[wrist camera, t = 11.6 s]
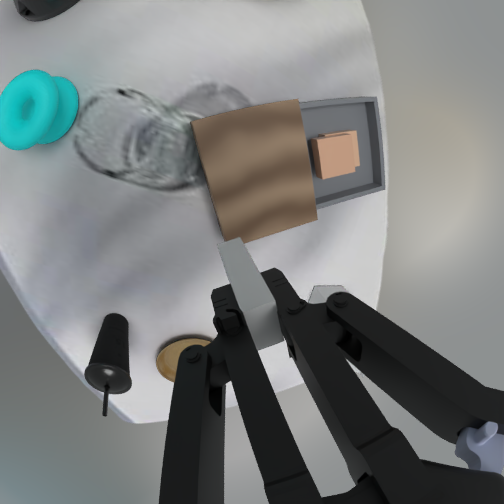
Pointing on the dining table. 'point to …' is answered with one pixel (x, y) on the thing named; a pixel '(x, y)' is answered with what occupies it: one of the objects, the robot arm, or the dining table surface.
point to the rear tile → (354, 141)
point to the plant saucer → (174, 356)
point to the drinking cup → (110, 359)
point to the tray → (369, 145)
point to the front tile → (333, 155)
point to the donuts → (36, 109)
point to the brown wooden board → (257, 169)
